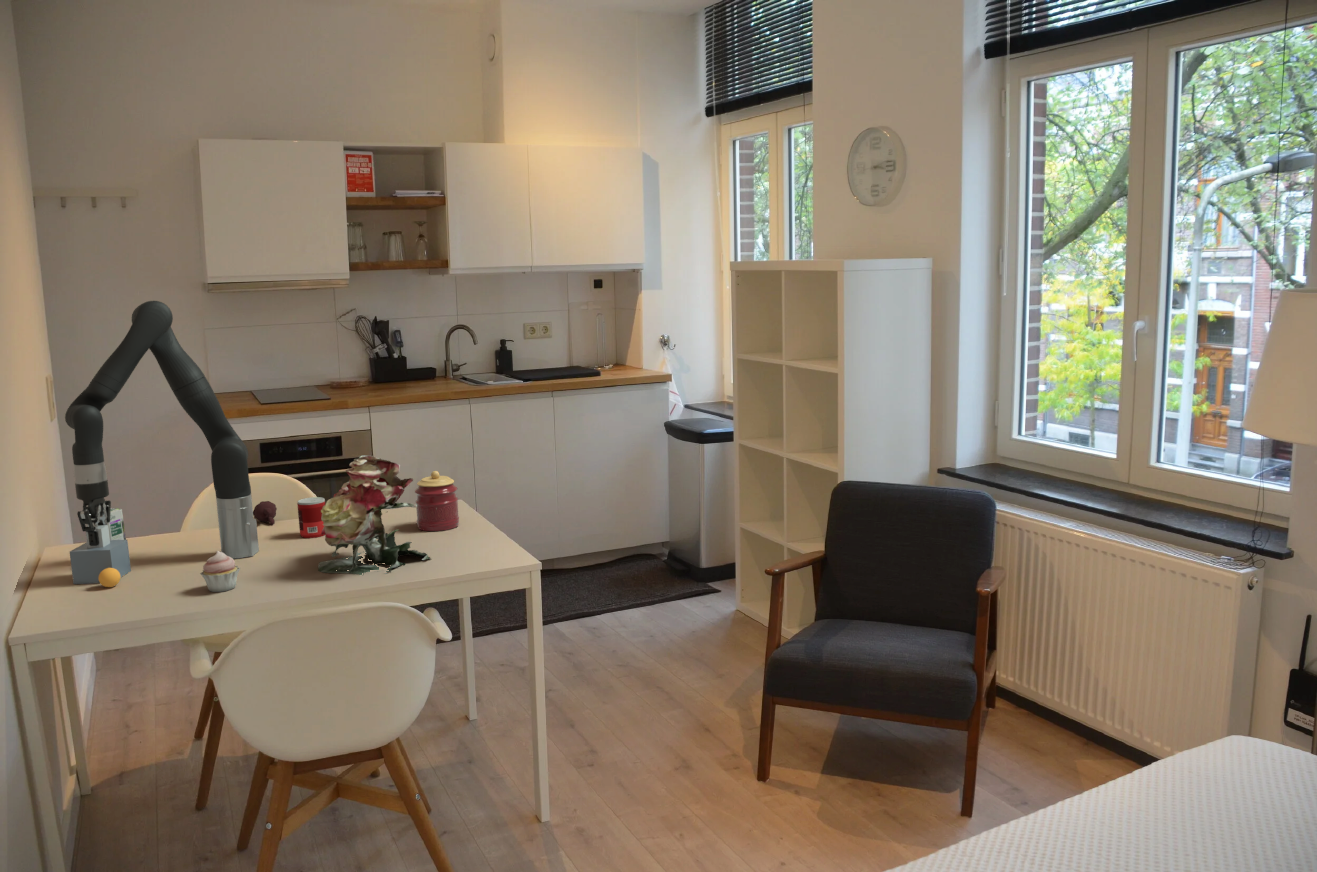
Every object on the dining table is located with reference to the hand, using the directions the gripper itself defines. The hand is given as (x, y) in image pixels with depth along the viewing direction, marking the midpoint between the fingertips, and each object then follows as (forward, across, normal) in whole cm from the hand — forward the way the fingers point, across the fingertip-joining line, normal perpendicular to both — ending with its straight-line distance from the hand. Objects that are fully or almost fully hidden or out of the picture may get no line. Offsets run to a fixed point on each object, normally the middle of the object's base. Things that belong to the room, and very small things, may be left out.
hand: (98, 542), depth 267 cm
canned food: (+10, +36, -46) cm, 59 cm away
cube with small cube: (+10, 0, 0) cm, 10 cm away
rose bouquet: (+10, +2, -69) cm, 70 cm away
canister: (+10, +40, -83) cm, 93 cm away
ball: (+7, -9, -6) cm, 13 cm away
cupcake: (+10, -15, -36) cm, 40 cm away
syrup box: (+10, +17, +5) cm, 20 cm away
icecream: (+10, +57, -26) cm, 63 cm away
